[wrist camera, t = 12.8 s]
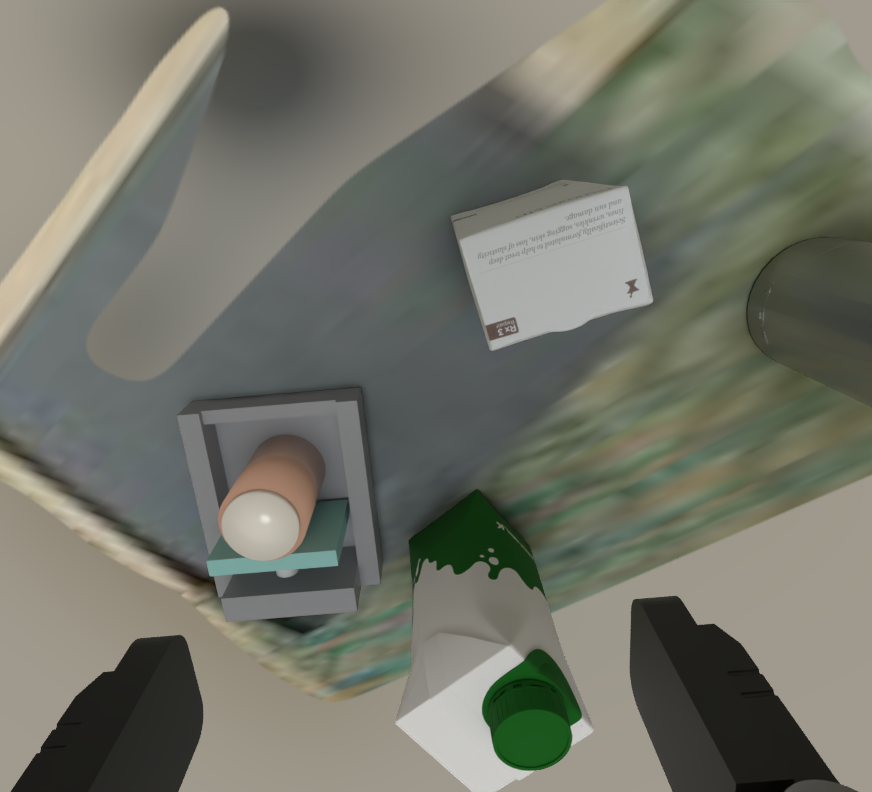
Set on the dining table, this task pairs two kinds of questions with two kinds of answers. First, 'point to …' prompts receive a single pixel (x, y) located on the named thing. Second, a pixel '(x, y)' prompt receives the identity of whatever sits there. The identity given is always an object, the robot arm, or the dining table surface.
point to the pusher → (312, 553)
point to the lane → (344, 479)
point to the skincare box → (552, 259)
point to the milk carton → (485, 654)
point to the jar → (273, 499)
